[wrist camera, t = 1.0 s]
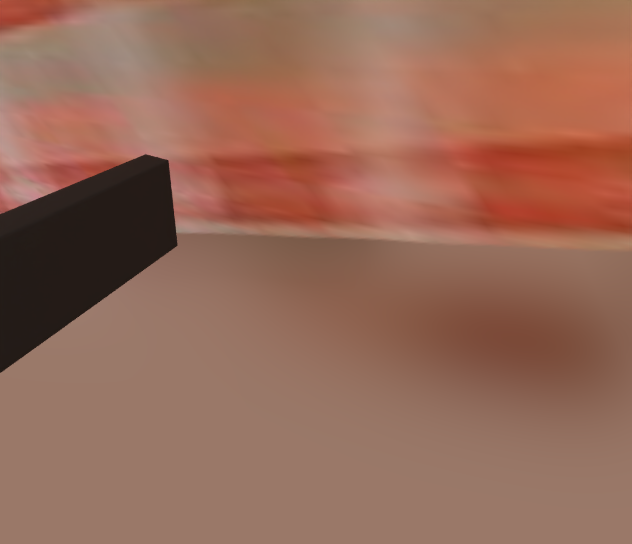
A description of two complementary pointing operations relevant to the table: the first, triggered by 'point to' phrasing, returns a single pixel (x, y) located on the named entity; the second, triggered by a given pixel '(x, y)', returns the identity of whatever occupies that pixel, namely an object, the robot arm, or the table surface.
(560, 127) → the table surface
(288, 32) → the table surface
